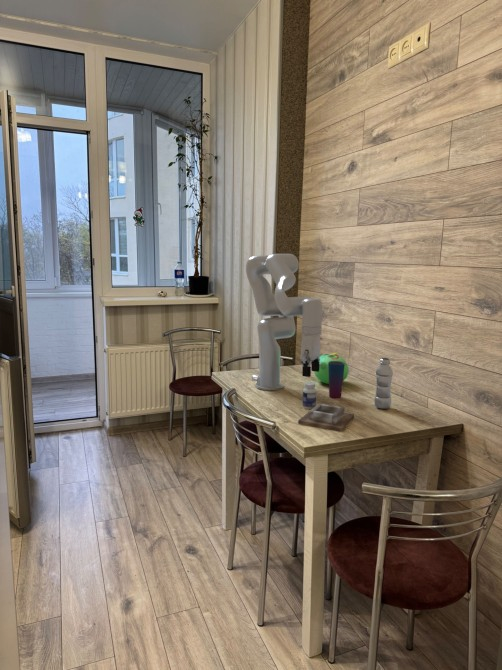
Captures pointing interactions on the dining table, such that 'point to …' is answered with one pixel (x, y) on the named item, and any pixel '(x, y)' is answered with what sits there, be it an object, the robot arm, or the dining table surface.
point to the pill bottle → (309, 396)
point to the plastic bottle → (383, 384)
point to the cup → (335, 378)
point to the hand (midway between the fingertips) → (311, 373)
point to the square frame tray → (327, 417)
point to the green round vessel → (324, 370)
